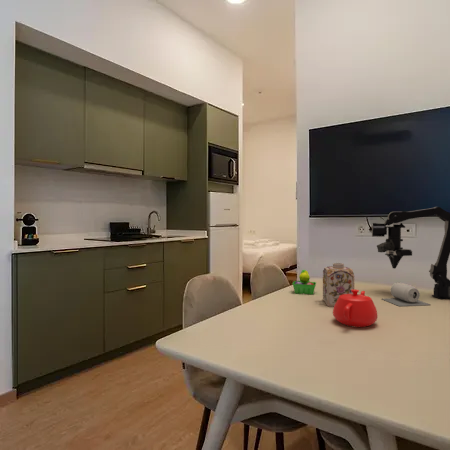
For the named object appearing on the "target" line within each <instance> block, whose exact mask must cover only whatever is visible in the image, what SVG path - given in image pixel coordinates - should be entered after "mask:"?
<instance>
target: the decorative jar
mask: <svg viewBox="0 0 450 450" xmlns="http://www.w3.org/2000/svg"><path fill="white" fill-rule="evenodd" d="M352 289H355V273H354V270H353V269H352V268H351V267H348V266H345V264H344V263H343V262H333V263H332V265H331V266H330V265H329V266H325V267H324V268H323V270H322V300H323V302H324V303H325V304H326V306H327V307H334V306H335V303H336V302H337V299H338V298H339V296H340V295H343V294H353V292H352V291H351V290H352Z"/></svg>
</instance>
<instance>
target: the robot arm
mask: <svg viewBox="0 0 450 450" xmlns="http://www.w3.org/2000/svg"><path fill="white" fill-rule="evenodd" d="M432 216H436V217H437V218H439V220H441V221H443V222H444V235H443V239H442V241H441V245H440V249H439V252H438V255H437V259H436V261H435V263H434V264H433V263H430V264H431V265H430V269H429V270H428V272H429V276H430V277H431V279H432V280H434V284H433V285H434V286H433V294H431V297H434V298H438V299H440V300H449V299H450V279H449V278H448V277H447V276H448V261H449V258H450V212H448V211H447V210H445V209H443V208H442V207H440V206H434V207H431V208H424V209H416V210H409V211H391V212H390V213H389V214H388V215H387V219H386V220H385V221H384V222H383V223H376V222H373V223H372V225H371V227H372V228H371V237H376V238H377V237H378V238H379V237H380V238H382V237H383V238H384V237H385V236H386V235H387V238H386V239H385V242H382V243H379V244H377V245H376V247H377V248H376V249H377V253H384V255H385V256H387V257H388V259H389V261H390V265H391V267H392V269H393V270H394V269H396V268H397V267H398V265H399V263H400V261H401V260H402V258H403V257H407V256H408V257H410V256H413V251H412V249H408V248H403V247H402V242H403V241H404V239H403V238H402V228H403V229H405V228H406V226H405V225H404V224H403V223H402V222H405V221H408V220H412V219H419V218H423V217H424V218H426V217H432Z"/></svg>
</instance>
